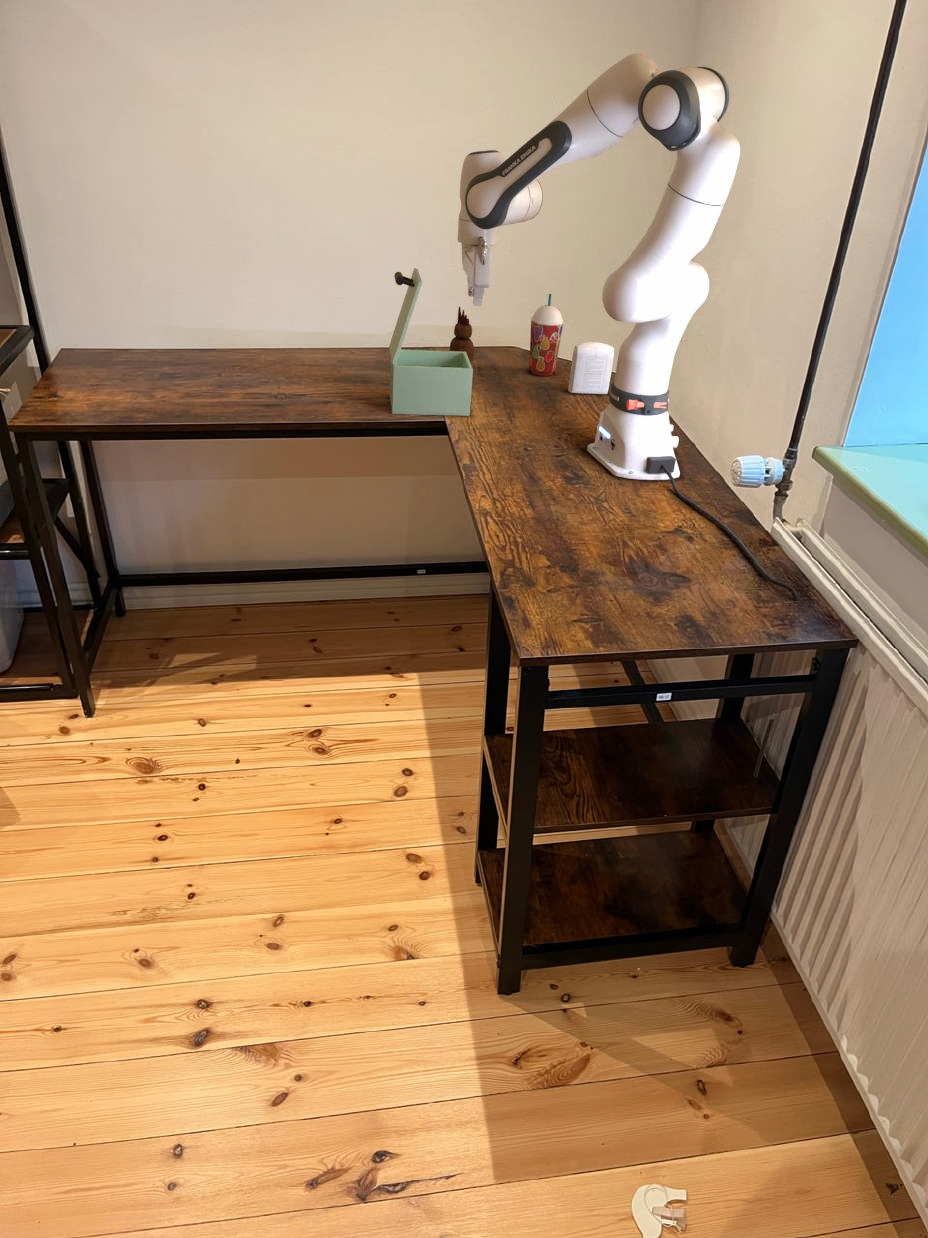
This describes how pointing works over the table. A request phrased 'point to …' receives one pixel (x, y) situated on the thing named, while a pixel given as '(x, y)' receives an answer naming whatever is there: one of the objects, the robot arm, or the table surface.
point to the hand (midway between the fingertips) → (474, 300)
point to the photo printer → (591, 368)
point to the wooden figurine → (463, 336)
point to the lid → (404, 311)
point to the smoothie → (545, 339)
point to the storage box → (431, 383)
